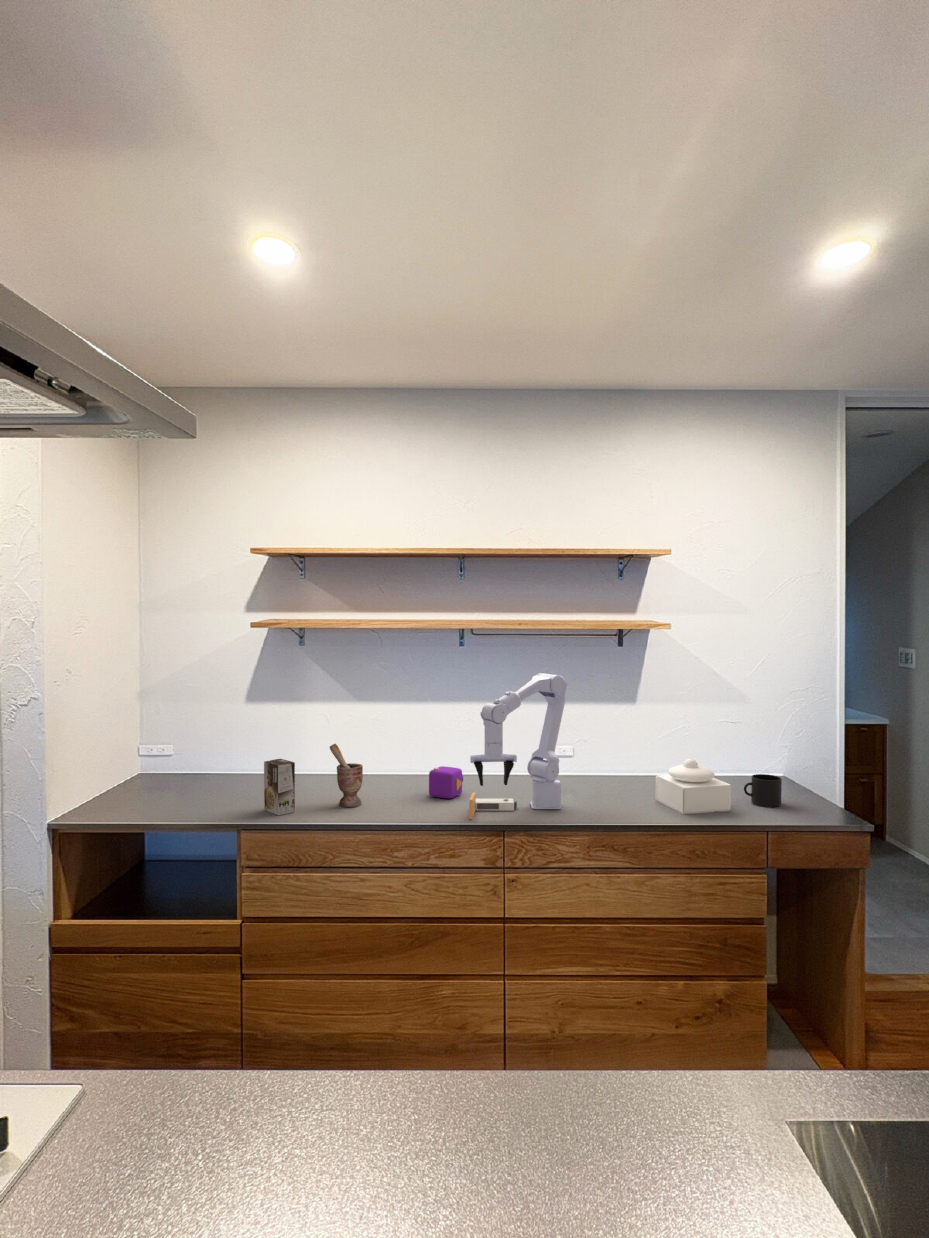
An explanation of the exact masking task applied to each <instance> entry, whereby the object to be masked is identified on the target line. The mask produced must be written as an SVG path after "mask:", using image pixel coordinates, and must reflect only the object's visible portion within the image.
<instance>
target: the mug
mask: <svg viewBox="0 0 929 1238" xmlns="http://www.w3.org/2000/svg"><path fill="white" fill-rule="evenodd" d="M782 780H783V779H782V777H780V776H777V775H773V774H764V773H763V774H762V773H758V774H752V775H751V781H750V782H747V783H745V784H744V787H743V792H744V794H745V795H746V796H748V797H751V798H750V799H751V804H752V805H755V806H757V807H763V808H778V807H781V805H782V792H783V791H782V789H783V788H782V787H783V786H782V785H783V783H782ZM748 786H750V787H751V792H748V790H747V787H748Z"/></svg>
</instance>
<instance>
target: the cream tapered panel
mask: <svg viewBox="0 0 929 1238" xmlns="http://www.w3.org/2000/svg"><path fill="white" fill-rule="evenodd" d="M517 808H518V803H517V800H514V798H476V809H475V812H476V811H477V812H478V811H482V812H483V811H487V812H488V811H492V812H493V811H497V812H499V811H502V812H503V811H504V812H505V811H506V812H507V811H508V812H509V811H513V812H514V811H515V809H517Z"/></svg>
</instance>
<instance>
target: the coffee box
mask: <svg viewBox="0 0 929 1238" xmlns="http://www.w3.org/2000/svg"><path fill="white" fill-rule="evenodd" d="M295 767H296V763H295V762H294V761H291V760H287V759H283V758H276V759H271V760H266V761H264V762H263V783H264V785H263V788H264V789H263V793H264V794H263V797H264V798H263V799H264V801H263V802H264V811H266V812H269V813H271V814H273V815H276V816H282V815H286V814H287V815H288V814H291V813H296V811H295V810H296V807H295V806H296V805H295V804H296V799H295V798H296V793H295V791H296V790H295V789H296V788H295V786H296V784H295V783H296V777H295V775H296V774H295V773H296V772H295V771H296V770H295V769H296V768H295Z"/></svg>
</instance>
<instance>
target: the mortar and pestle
mask: <svg viewBox="0 0 929 1238" xmlns="http://www.w3.org/2000/svg"><path fill="white" fill-rule="evenodd" d="M329 750H330V751H331V753H332V755H333V756H334V758H335V759H336V761H338V764H339V765H337V766H336V775H337V776H336V779H337V785H338V788H339V790H340V792H341V793H342V794H343V795H342V797H341V798H340V800H339V802H338V804H339V806H340V807H344V808H352V807H353V808H354V807H355V808H356V807H359V806H361V804H362V801H361V800H362V799H361V798H360V797H359V796H358V792H360V790H361V788H362V783H363V775H364V774H363V770H364V769H363V767H364V766H363V764H362V763H352V762H350V763H347V762H346V760H345V758H344V757H343V754H342V752H341V750H340V747H339V746H338V745H337V744H336V743H333V744H331V745H330V746H329Z"/></svg>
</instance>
